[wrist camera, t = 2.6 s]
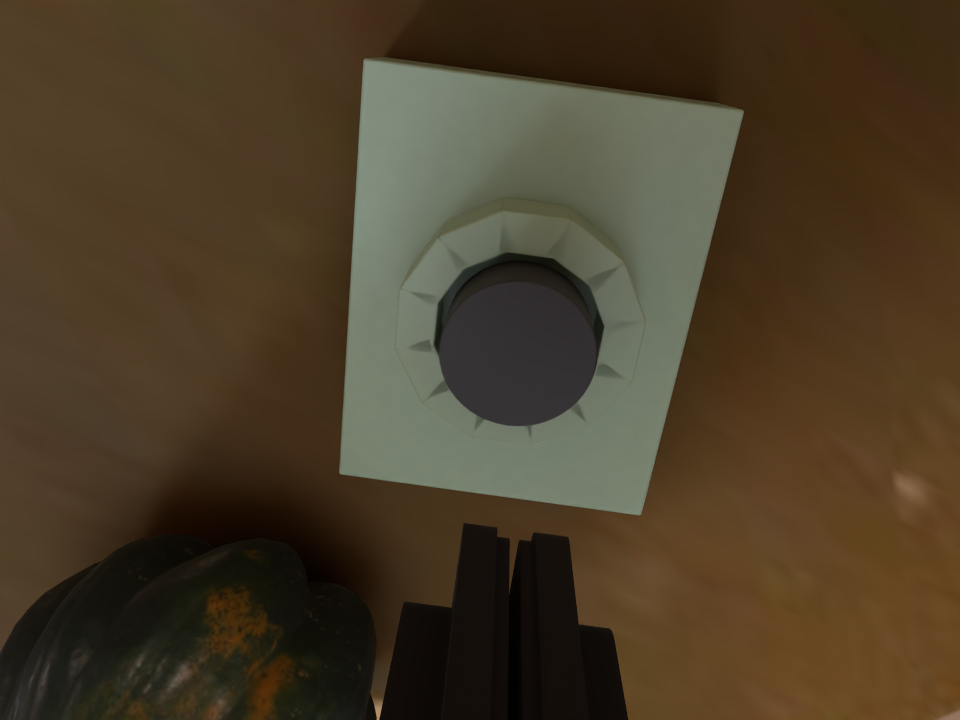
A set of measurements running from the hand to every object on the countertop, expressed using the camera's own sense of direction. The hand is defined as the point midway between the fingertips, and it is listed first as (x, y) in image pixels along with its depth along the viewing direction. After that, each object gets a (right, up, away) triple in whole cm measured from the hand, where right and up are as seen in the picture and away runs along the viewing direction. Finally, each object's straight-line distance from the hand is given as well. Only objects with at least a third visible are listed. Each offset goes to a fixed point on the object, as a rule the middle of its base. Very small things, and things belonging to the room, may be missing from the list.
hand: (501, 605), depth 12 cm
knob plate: (+1, +7, +15) cm, 16 cm away
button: (+1, +5, +11) cm, 12 cm away
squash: (-11, -8, +22) cm, 26 cm away
